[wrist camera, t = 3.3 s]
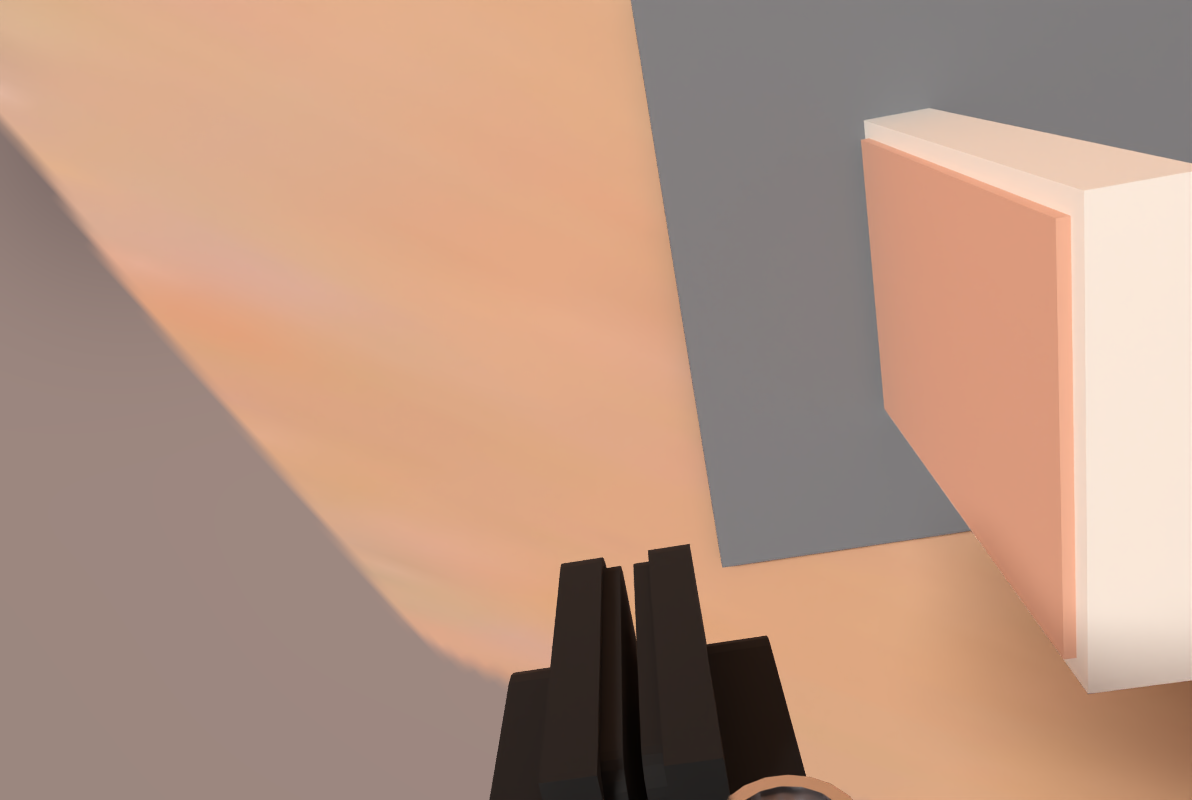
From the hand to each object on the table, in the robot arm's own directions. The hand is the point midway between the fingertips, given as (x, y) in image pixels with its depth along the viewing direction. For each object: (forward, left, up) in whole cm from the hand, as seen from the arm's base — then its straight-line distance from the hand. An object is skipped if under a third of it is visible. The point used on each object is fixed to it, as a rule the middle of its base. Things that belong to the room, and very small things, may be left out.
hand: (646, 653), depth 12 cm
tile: (-7, 0, -14) cm, 16 cm away
